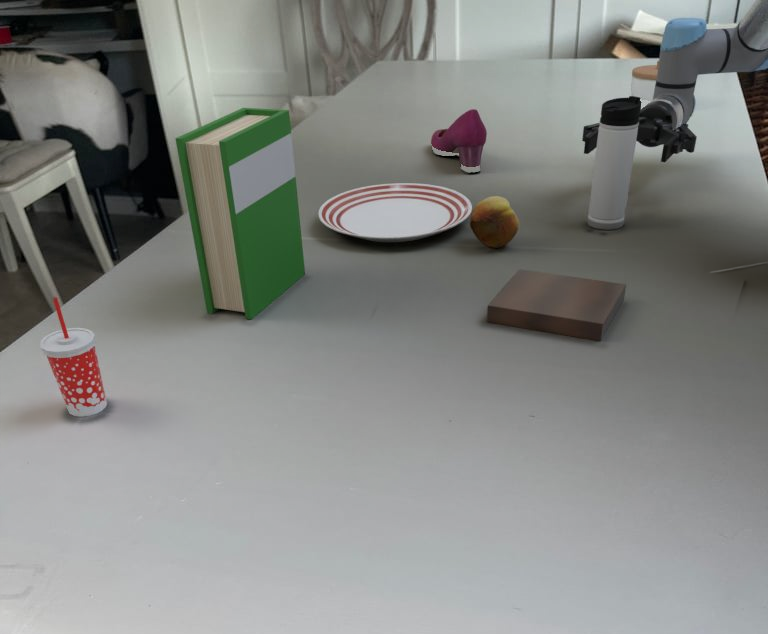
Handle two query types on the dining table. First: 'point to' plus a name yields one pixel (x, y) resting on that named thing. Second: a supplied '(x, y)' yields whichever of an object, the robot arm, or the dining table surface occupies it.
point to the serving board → (557, 304)
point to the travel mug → (613, 162)
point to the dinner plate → (395, 211)
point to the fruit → (494, 222)
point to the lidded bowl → (644, 81)
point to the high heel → (463, 138)
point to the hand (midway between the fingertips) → (624, 149)
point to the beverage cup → (75, 367)
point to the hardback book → (243, 208)
